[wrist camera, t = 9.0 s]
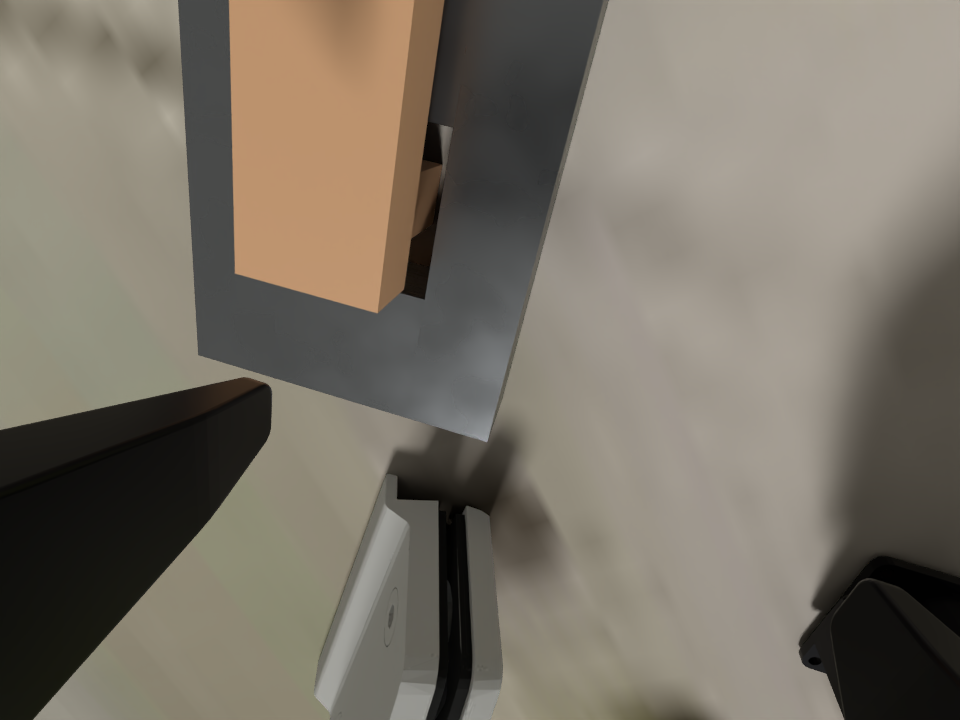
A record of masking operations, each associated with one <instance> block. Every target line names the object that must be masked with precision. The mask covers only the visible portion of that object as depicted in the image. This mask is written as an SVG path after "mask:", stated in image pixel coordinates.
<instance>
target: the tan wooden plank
mask: <svg viewBox="0 0 960 720" xmlns="http://www.w3.org/2000/svg"><path fill="white" fill-rule="evenodd" d="M443 7H444V0H229V22H230V68H231V113H232V159H233V205H234V251H235V274H239V275H242V276H246V277H249V278H253V279H257V280H260V281H264V282H267V283H271V284H274V285H278V286H282V287H285V288H289V289H292V290H296V291H299V292H303V293H307V294H310V295H314V296H317V297H321V298H324V299H328V300H332V301H335V302H339V303H342V304H346V305H350V306H353V307H357V308H360V309H364V310H367V311H371V312H375V313H378V312H380V311H381V310H382V309H383V308H384V307H385V306H386V305H387V304H388V303H389V302H391V301H392V300H393V299H394V298H395V297H396V296H397V295H398V294H399V293H401V292H402V291H403V290H404V286H405V278H406V271H407V264H408V257H409V250H410V243H411V239H412V238H413V237H414V236H416V235H417V234H419V233H420V232H422V231H423V230H425V229H426V228H428V227H429V226H431V225H432V224H433V220H434V214H435V208H436V201H437V195H438V189H439V182H440V176H441V170H442V164H438V163H434V162H430V161H426V160H422V157H423V150H424V143H425V136H426V128H427V121H428V114H429V107H430V100H431V93H432V86H433V78H434V71H435V64H436V57H437V50H438V43H439V36H440V28H441V21H442V14H443Z"/></svg>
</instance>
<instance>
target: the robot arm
mask: <svg viewBox="0 0 960 720" xmlns="http://www.w3.org/2000/svg"><path fill="white" fill-rule="evenodd" d="M271 414H272V390H271V388H270V386H269V385H268V384H266V383H263V382H260V381H257V380H254V379H251V378H246V377H243V378H238V379H233V380H229V381H224V382H220V383H215V384H210V385H206V386H201V387H197V388H192V389H187V390H183V391H178V392H174V393H169V394H164V395H160V396H155V397H150V398H146V399H141V400H137V401H132V402H127V403H123V404H118V405H114V406H109V407H104V408H100V409H95V410H91V411H86V412H81V413H77V414H72V415H68V416H63V417H58V418H54V419H49V420H44V421H40V422H35V423H31V424H26V425H21V426H17V427H12V428H8V429H3V430H0V720H33V719H34V718H35V717H36V716H37V714H38V713H39V712H40V711H41V710H42V709H43V708H44V707H45V705H46V704H47V703H48V702H49V701H50V700H51V699H52V697H53V696H54V695H55V694H56V693H57V692H58V691H59V690H60V688H61V687H62V686H63V685H64V684H65V683H66V682H67V681H68V679H69V678H70V677H71V676H72V675H73V674H74V673H75V672H76V670H77V669H78V668H79V667H80V666H81V665H82V664H83V662H84V661H85V660H86V659H87V658H88V657H89V656H90V655H91V653H92V652H93V651H94V650H95V649H96V648H97V647H98V646H99V644H100V643H101V642H102V641H103V640H104V639H105V638H106V637H107V635H108V634H109V633H110V632H111V631H112V630H113V629H114V627H115V626H116V625H117V624H118V623H119V622H120V621H121V620H122V618H123V617H124V616H125V615H126V614H127V613H128V612H129V611H130V609H131V608H132V607H133V606H134V605H135V604H136V603H137V602H138V600H139V599H140V598H141V597H142V596H143V595H144V594H145V592H146V591H147V590H148V589H149V588H150V587H151V586H152V585H153V583H154V582H155V581H156V580H157V579H158V578H159V577H160V576H161V574H162V573H163V572H164V571H165V570H166V569H167V568H168V567H169V565H170V564H171V563H172V562H173V561H174V560H175V559H176V557H177V556H178V555H179V554H180V553H181V552H182V551H183V550H184V548H185V547H186V546H187V545H188V544H189V543H190V542H191V541H192V539H193V538H194V537H195V536H196V535H197V534H198V533H199V532H200V530H201V529H202V528H203V527H204V526H205V524H206V523H207V522H208V521H209V520H210V519H211V517H212V516H213V515H214V513H215V512H216V511H217V509H218V508H219V507H220V505H221V504H222V503H223V501H224V500H225V498H226V497H227V496H228V494H229V493H230V491H231V490H232V489H233V487H234V486H235V484H236V483H237V482H238V480H239V479H240V477H241V476H242V475H243V473H244V472H245V470H246V469H247V468H248V466H249V465H250V463H251V462H252V461H253V459H254V458H255V456H256V455H257V454H258V452H259V451H260V449H261V448H262V447H263V445H264V444H265V442H266V441H267V439H268V436H269V434H270V430H271ZM887 569H888V570H887ZM883 570H886V571H883ZM799 655H800V657H801V660H802V663H803V664H804V665H805V666H806V667H808V668H811V669H814V670H817V671H820V672H823V673H826V674H827V676H828V679H829V681H830V684H831V686H832V689H833V691H834V694H835V697H836V699H837V702H838V704H839V707H840V709H841V712H842V714H843V717H844V720H960V578H958V577H954V576H951V575H948V574H944V573H941V572H938V571H935V570H931V569H928V568H925V567H921V566H918V565H915V564H911V563H908V562H905V561H901V560H898V559H895V558H891V557H886V556H883V557H877V558H875V559H873V560H872V561H870V562H869V563H868V565H867V566H866V567H865V568H864V570H863V571H862V572H861V573H860V575H859V576H858V577H857V578H856V580H855V581H854V582H853V583H852V585H851V586H850V587H849V588H848V590H847V591H846V592H845V593H844V595H843V596H842V597H841V598H840V600H839V601H838V602H837V603H836V605H835V606H834V607H833V608H832V610H831V611H830V612H829V613H828V615H827V616H826V617H825V618H824V619H823V621H822V622H821V623H820V624H819V626H818V627H817V628H816V629H815V631H814V632H813V633H812V634H811V636H810V637H809V638H808V639H807V641H806V642H805V643H804V644H803V646H802V647H801V648H800V650H799Z"/></svg>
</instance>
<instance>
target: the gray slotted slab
mask: <svg viewBox="0 0 960 720" xmlns="http://www.w3.org/2000/svg"><path fill="white" fill-rule="evenodd" d="M608 1H609V0H444V7H443V14H442V21H441V28H440V36H439V43H438V50H437V57H436V64H435V71H434V78H433V86H432V93H431V100H430V107H429V114H428V122H432V123H436V124H440V125H444V126H449V127H453V132H452V138H451V144H450V150H449V156H448V162H447V168H446V174H445V180H444V186H443V192H442V198H441V204H440V210H439V217H438V223H437V229H436V235H435V241H434V247H433V253H432V259H431V265H430V267H426V266H423V265H419V264H415V263H412V262H408V264H407V271H406V278H405V286H404V290H403V291H402V292H401V293H399V294H398V295H397V296H396V297H395V298H394V299H393V300H392V301H391V302H389V303H388V304H387V305H386V306H385V307H384V308H383V309H382V310H381V311H380V312H378V313H375V312H371V311H367V310H364V309H360V308H357V307H353V306H350V305H346V304H342V303H339V302H335V301H332V300H328V299H324V298H321V297H317V296H314V295H310V294H307V293H303V292H299V291H296V290H292V289H289V288H285V287H282V286H278V285H274V284H271V283H267V282H264V281H260V280H257V279H253V278H249V277H246V276H242V275H239V274H235V251H234V205H233V159H232V113H231V68H230V22H229V0H178V6H179V24H180V41H181V59H182V76H183V94H184V111H185V129H186V147H187V164H188V182H189V199H190V217H191V235H192V252H193V270H194V287H195V305H196V322H197V340H198V355H200V356H203V357H207V358H210V359H213V360H217V361H220V362H223V363H227V364H230V365H233V366H237V367H240V368H243V369H246V370H250V371H253V372H256V373H260V374H263V375H266V376H270V377H273V378H276V379H280V380H283V381H286V382H289V383H293V384H296V385H299V386H303V387H306V388H309V389H313V390H316V391H319V392H323V393H326V394H329V395H333V396H336V397H339V398H342V399H346V400H349V401H352V402H356V403H359V404H362V405H366V406H369V407H372V408H376V409H379V410H382V411H386V412H389V413H392V414H395V415H399V416H402V417H405V418H409V419H412V420H415V421H419V422H422V423H425V424H429V425H432V426H435V427H438V428H442V429H445V430H448V431H452V432H455V433H458V434H462V435H465V436H468V437H472V438H475V439H478V440H482V441H485V442H487V441H488V438H489V436H490V433H491V430H492V427H493V424H494V421H495V418H496V416H497V413H498V410H499V407H500V404H501V401H502V398H503V394H504V391H505V387H506V383H507V379H508V376H509V372H510V368H511V364H512V361H513V357H514V353H515V349H516V346H517V342H518V338H519V335H520V331H521V327H522V323H523V320H524V316H525V312H526V308H527V305H528V301H529V297H530V293H531V290H532V286H533V282H534V278H535V275H536V271H537V267H538V263H539V260H540V256H541V252H542V248H543V245H544V241H545V237H546V233H547V230H548V226H549V222H550V218H551V215H552V211H553V207H554V203H555V200H556V196H557V192H558V188H559V185H560V181H561V177H562V174H563V170H564V166H565V162H566V159H567V155H568V151H569V147H570V144H571V140H572V136H573V132H574V129H575V125H576V121H577V117H578V114H579V110H580V106H581V102H582V99H583V95H584V91H585V87H586V84H587V80H588V76H589V72H590V69H591V65H592V61H593V57H594V54H595V50H596V46H597V42H598V39H599V35H600V31H601V27H602V24H603V20H604V16H605V12H606V9H607V5H608Z"/></svg>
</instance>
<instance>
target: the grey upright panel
mask: <svg viewBox="0 0 960 720" xmlns="http://www.w3.org/2000/svg"><path fill="white" fill-rule="evenodd" d="M502 673H503V661H502V650H501V639H500V628H499V617H498V606H497V595H496V584H495V572H494V561H493V550H492V539H491V528H490V517H489V515H487V514H486V513H484V512H483V511H481V510H478V509H475V508H472V507H470V506H466V508H465V510H464V511H463V513H462V514H455V516H454V519H453V521H452V523H451V525H450V527H449V529H448V531H447V533H446V512H443V511H438V501H427V500H397V476H395V475H391V474H386V476H385V479H384V482H383V485H382V487H381V490H380V493H379V496H378V498H377V501H376V504H375V507H374V509H373V512H372V515H371V518H370V521H369V523H368V526H367V529H366V532H365V534H364V537H363V540H362V543H361V545H360V548H359V551H358V554H357V556H356V559H355V562H354V565H353V568H352V570H351V573H350V576H349V579H348V581H347V584H346V587H345V590H344V592H343V595H342V598H341V601H340V603H339V606H338V609H337V612H336V615H335V617H334V620H333V623H332V626H331V628H330V631H329V634H328V637H327V639H326V642H325V645H324V648H323V650H322V653H321V656H320V659H319V662H318V667H317V674H316V681H315V688H314V695H315V697H316V698H317V699H318V700H319V701H320V702H321V703H322V704H323V706H324V707H325V708H326V709H327V710H328V711H329V713H330V720H491V717H492V714H493V711H494V708H495V705H496V702H497V699H498V696H499V693H500V689H501V683H502Z"/></svg>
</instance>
